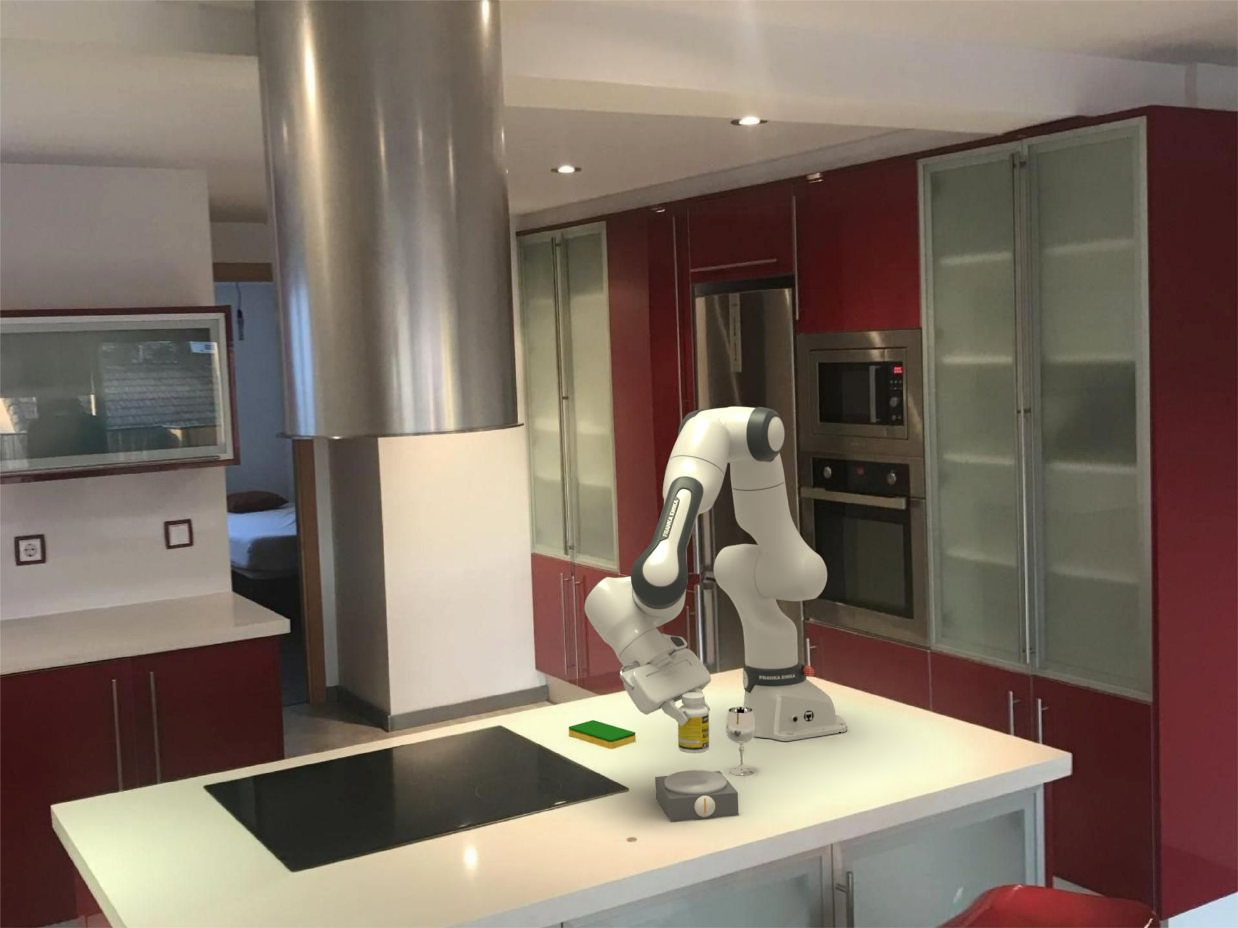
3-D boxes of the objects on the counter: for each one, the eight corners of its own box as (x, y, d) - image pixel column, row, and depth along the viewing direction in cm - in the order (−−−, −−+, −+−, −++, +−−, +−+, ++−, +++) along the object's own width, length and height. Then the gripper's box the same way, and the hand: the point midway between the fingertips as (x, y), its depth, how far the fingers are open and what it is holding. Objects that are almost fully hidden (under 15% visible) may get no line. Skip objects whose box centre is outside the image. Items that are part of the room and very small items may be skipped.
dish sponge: (611, 751, 264) (610, 739, 263) (567, 737, 274) (567, 726, 274) (636, 743, 268) (636, 731, 268) (593, 730, 279) (593, 719, 278)
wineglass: (758, 776, 244) (757, 713, 243) (728, 777, 244) (726, 714, 243) (755, 766, 250) (753, 705, 249) (725, 767, 250) (724, 706, 249)
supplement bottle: (707, 754, 225) (706, 699, 224) (676, 753, 226) (675, 698, 225) (711, 745, 230) (710, 691, 229) (681, 744, 231) (679, 690, 230)
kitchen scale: (720, 792, 236) (719, 766, 235) (739, 815, 223) (738, 788, 223) (655, 798, 233) (655, 772, 233) (671, 822, 221) (670, 795, 221)
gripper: (625, 658, 222) (675, 721, 217) (687, 635, 238) (735, 693, 234) (605, 680, 225) (654, 744, 220) (667, 656, 241) (714, 714, 237)
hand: (696, 717), depth 227 cm, fingers closed on supplement bottle, 5 cm apart
